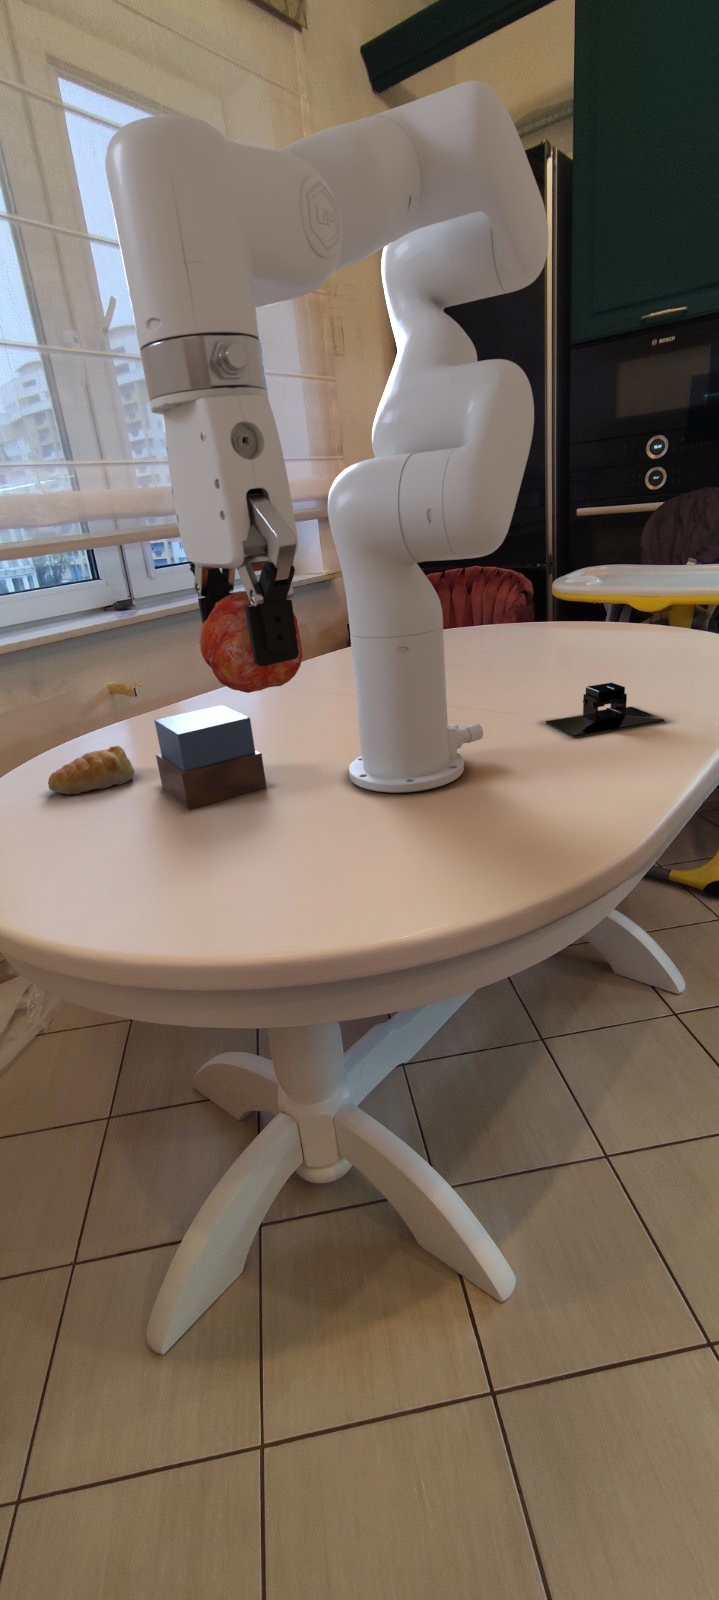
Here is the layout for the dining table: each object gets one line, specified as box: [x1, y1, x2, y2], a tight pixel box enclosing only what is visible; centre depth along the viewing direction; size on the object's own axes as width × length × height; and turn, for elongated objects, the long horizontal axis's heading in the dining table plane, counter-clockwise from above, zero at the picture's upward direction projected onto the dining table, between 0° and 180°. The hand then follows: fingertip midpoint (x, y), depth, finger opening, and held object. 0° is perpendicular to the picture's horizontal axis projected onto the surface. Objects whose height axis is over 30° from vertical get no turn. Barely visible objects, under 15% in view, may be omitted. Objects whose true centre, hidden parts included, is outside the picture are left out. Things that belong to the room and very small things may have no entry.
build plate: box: [545, 682, 666, 738], centre depth 89 cm, size 12×7×5 cm, turn 105°
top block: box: [154, 704, 256, 771], centre depth 79 cm, size 8×8×4 cm
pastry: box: [47, 745, 135, 796], centre depth 85 cm, size 9×7×4 cm
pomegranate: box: [198, 590, 303, 694], centre depth 53 cm, size 7×7×10 cm
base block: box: [155, 749, 267, 810], centre depth 80 cm, size 9×9×4 cm
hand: (250, 653), depth 53 cm, fingers closed on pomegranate, 8 cm apart
